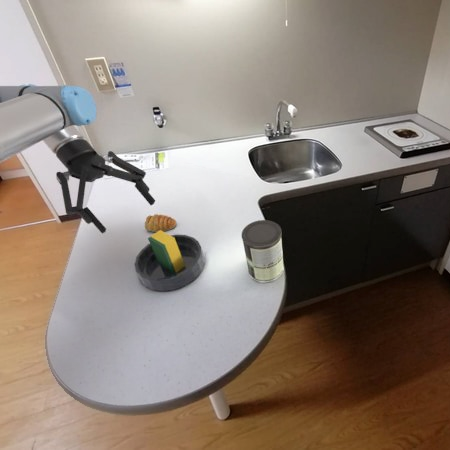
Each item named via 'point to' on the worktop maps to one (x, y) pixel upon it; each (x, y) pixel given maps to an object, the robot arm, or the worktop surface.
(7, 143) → the robot arm
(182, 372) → the worktop surface
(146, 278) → the bowl
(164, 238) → the sponge
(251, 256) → the coffee can
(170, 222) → the pastry
